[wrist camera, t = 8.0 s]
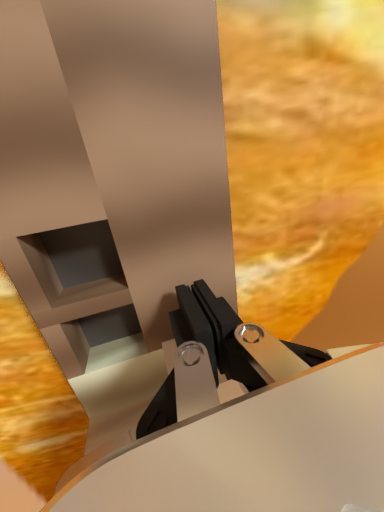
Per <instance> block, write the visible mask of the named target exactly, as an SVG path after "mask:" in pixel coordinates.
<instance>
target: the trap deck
mask: <svg viewBox="0 0 384 512" xmlns="http://www.w3.org/2000/svg"><path fill="white" fill-rule="evenodd" d="M0 260H1V262H2V264H3V266H4V267H5V269H6V271H7V273H8V275H9V276H10V278H11V280H12V282H13V283H14V285H15V287H16V289H17V291H18V292H19V294H20V296H21V298H22V300H23V301H24V303H25V305H26V307H27V308H28V310H29V312H30V314H31V316H32V317H33V319H34V321H35V323H36V325H37V326H38V328H39V330H40V332H41V333H42V335H43V337H44V339H45V341H46V342H47V344H48V346H49V348H50V350H51V351H52V353H53V355H54V357H55V359H56V360H57V362H58V364H59V366H60V367H61V369H62V371H63V373H64V375H65V376H66V378H67V380H68V382H69V384H70V385H71V387H72V389H73V391H74V392H75V394H76V396H77V398H78V400H79V401H80V403H81V405H82V407H83V409H84V410H85V412H86V414H87V416H88V417H89V425H88V432H87V438H86V445H85V451H84V456H85V455H87V454H88V453H90V452H91V451H93V450H94V449H96V448H97V447H99V446H100V445H102V444H103V443H105V442H107V441H108V440H110V439H111V438H113V437H114V436H116V435H117V434H119V433H120V432H122V431H123V430H125V429H126V428H128V429H129V430H130V429H132V428H133V427H135V426H136V425H137V424H138V422H139V420H140V418H141V416H142V415H143V413H144V412H145V410H146V409H147V407H148V406H149V404H150V403H151V401H152V400H153V398H154V396H155V395H156V393H157V392H158V390H159V389H160V387H161V386H162V384H163V383H164V381H165V380H166V378H167V377H168V372H167V367H166V362H165V357H164V352H163V347H162V342H165V341H168V340H171V339H174V334H173V331H172V327H171V322H170V318H169V314H168V312H170V311H174V310H177V309H179V304H178V299H177V294H176V290H175V286H178V285H182V284H185V286H188V285H189V287H190V289H191V284H194V281H197V280H200V279H203V280H204V281H205V282H206V284H207V285H208V287H209V288H210V289H211V291H212V292H213V293H214V295H215V296H216V298H218V297H221V296H222V297H224V298H225V300H226V301H227V302H228V304H229V305H230V306H231V307H232V309H233V310H234V311H235V313H236V314H237V315H238V307H237V293H236V279H235V265H234V251H233V236H232V222H231V208H230V194H229V180H228V166H227V151H226V137H225V123H224V109H223V95H222V81H221V66H220V52H219V38H218V24H217V10H216V0H0ZM191 291H192V290H191Z"/></svg>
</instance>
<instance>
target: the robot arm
mask: <svg viewBox="0 0 384 512" xmlns="http://www.w3.org/2000/svg"><path fill="white" fill-rule="evenodd" d="M175 290H176V294H177V299H178V304H179V309H177V310H174V311H170V312H168V314H169V318H170V322H171V327H172V331H173V334H174V338H175V342H176V345H177V349H176V351H175V353H174V368H173V369H172V371H171V372H170V374H169V375H168V377H167V378H166V380H165V381H164V383H163V384H162V386H161V387H160V389H159V390H158V392H157V393H156V395H155V396H154V398H153V400H152V401H151V403H150V404H149V406H148V407H147V409H146V410H145V412H144V413H143V415H142V416H141V418H140V420H139V422H138V424H137V425H136V426H135V427H133V428H132V429H130V430H129V429H128V428H126V429H125V430H123V431H122V432H120V433H119V434H117V435H116V436H114V437H113V438H111V439H110V440H108V441H107V442H105V443H103V444H102V445H100V446H99V447H97V448H96V449H94V450H93V451H91V452H90V453H88V454H87V455H85V456H84V457H82V458H81V459H79V460H78V461H76V462H75V463H73V464H72V465H71V466H70V467H69V468H68V469H67V470H66V471H65V472H64V474H63V475H62V476H61V478H60V479H59V481H58V483H57V485H56V488H55V490H54V495H53V498H52V499H51V500H50V501H49V502H48V503H47V504H46V505H45V506H44V507H43V508H42V509H41V511H40V512H384V342H382V343H378V344H365V345H357V346H350V347H342V348H334V349H327V350H326V352H325V353H324V352H322V351H320V350H317V349H314V348H310V347H306V346H302V345H299V344H295V343H291V342H287V341H283V340H279V339H277V338H276V337H275V336H274V335H272V334H271V333H270V332H269V331H268V330H267V329H265V328H264V327H263V326H261V325H260V324H257V323H253V322H245V323H243V322H242V320H241V319H240V318H239V316H238V315H237V314H236V313H235V311H234V310H233V309H232V307H231V306H230V305H229V304H228V302H227V301H226V300H225V298H224V297H222V296H221V297H218V298H216V296H215V295H214V293H213V292H212V291H211V289H210V288H209V287H208V285H207V284H206V282H205V281H204V280H203V279H200V280H197V281H194V284H191V289H190V287H189V285H188V286H185V284H182V285H178V286H175ZM191 290H192V291H191ZM217 368H218V369H217ZM218 370H219V372H220V374H221V375H223V374H225V376H226V378H227V380H231V379H232V380H235V381H237V382H239V386H240V387H241V389H242V391H243V392H244V393H245V395H242V396H240V397H237V398H235V399H232V400H230V401H228V402H225V403H223V404H220V400H219V396H218V392H217V388H218V386H219V379H218Z"/></svg>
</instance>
